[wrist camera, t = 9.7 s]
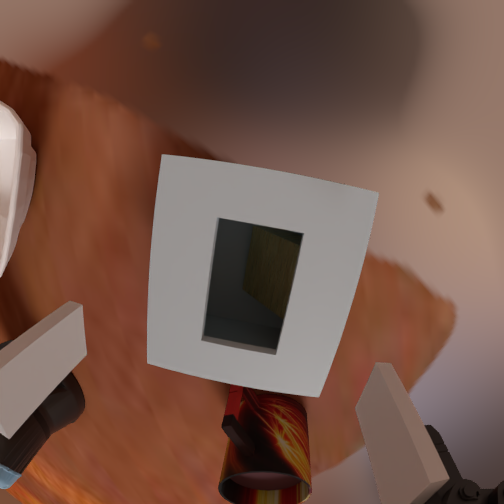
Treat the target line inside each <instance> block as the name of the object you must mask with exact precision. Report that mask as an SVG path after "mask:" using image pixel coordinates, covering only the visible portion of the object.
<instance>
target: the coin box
mask: <svg viewBox="0 0 504 504" xmlns="http://www.w3.org/2000/svg"><path fill="white" fill-rule="evenodd" d="M378 196H379V193H378V192H374V191H370V190H366V189H362V188H358V187H353V186H349V185H345V184H341V183H336V182H332V181H327V180H323V179H318V178H312V177H308V176H303V175H298V174H293V173H288V172H283V171H277V170H272V169H266V168H260V167H254V166H248V165H242V164H235V163H229V162H222V161H215V160H207V159H199V158H191V157H183V156H174V155H164V154H162V158H161V165H160V172H159V179H158V186H157V194H156V203H155V212H154V221H153V231H152V243H151V255H150V270H149V289H148V317H147V363H148V364H152V365H155V366H159V367H162V368H166V369H169V370H173V371H177V372H181V373H185V374H189V375H193V376H197V377H201V378H205V379H210V380H214V381H219V382H224V383H229V384H234V385H239V386H244V387H250V388H255V389H261V390H267V391H274V392H280V393H287V394H295V395H303V396H311V397H319V396H320V393H321V391H322V388H323V386H324V383H325V380H326V378H327V375H328V373H329V370H330V367H331V364H332V362H333V359H334V356H335V353H336V350H337V348H338V345H339V342H340V339H341V336H342V333H343V330H344V327H345V324H346V320H347V317H348V314H349V311H350V308H351V304H352V301H353V298H354V294H355V291H356V287H357V284H358V280H359V277H360V273H361V269H362V265H363V262H364V258H365V254H366V250H367V246H368V242H369V238H370V233H371V229H372V224H373V220H374V215H375V210H376V206H377V201H378ZM253 226H268V227H273V228H279V229H284V230H288V231H291V232H293V233H296V234H299V235H301V236H302V238H301V243H300V248H299V253H298V257H297V262H296V267H295V271H294V276H293V280H292V285H291V289H290V294H289V298H288V302H287V307H286V311H285V315H284V319H282V318H280V317H279V316H278V315H276V314H275V313H274V312H272V311H271V310H269V309H268V308H267V307H265V306H264V305H263V304H261V303H260V302H259V301H257V300H256V299H255V298H253V297H252V296H251V295H249V294H248V293H247V292H245V291H244V290H243V289H242V287H243V282H244V276H245V270H246V264H247V258H248V252H249V247H250V241H251V235H252V229H253Z"/></svg>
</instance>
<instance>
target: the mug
mask: <svg viewBox="0 0 504 504" xmlns="http://www.w3.org/2000/svg"><path fill="white" fill-rule="evenodd" d="M242 397H243V398H244V401H243V402H241V398H242ZM222 429H223V430H224V432H225V433H226V434H227V436H228V437H229V439H228V443H227V448H226V453H225V458H224V462H223V467H222V472H221V477H220V481H219V486H218V490H219V493H220V494H221V496H222V497H223V498H224V499H226V500H227V501H229V502H230V503H233V504H301V503H303V502H305V501H306V500H307V499H308V498H309V497H310V495H311V493H312V487H311V468H310V452H309V437H308V424H307V414H306V411H305V409H304V408H303V407H302V405H301V404H299V403H298V402H297V401H295V400H293V399H291V398H289V397H286V396H283V395H277V394H262V395H256V394H255V392H254V390H253V389H252V388H250V387H244V386H239V385H234V384H231V387H230V391H229V397H228V401H227V406H226V410H225V414H224V418H223V422H222Z"/></svg>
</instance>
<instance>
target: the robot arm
mask: <svg viewBox="0 0 504 504" xmlns="http://www.w3.org/2000/svg"><path fill="white" fill-rule="evenodd" d="M86 355H87V350H86V341H85V331H84V320H83V306H82V305H81V304H78V303H75V302H72V301H69V302H67V303H66V304H64V305H63V306H61V307H60V308H58V309H57V310H55V311H54V312H53V313H51V314H50V315H48V316H47V317H45V318H44V319H43V320H41V321H40V322H38V323H37V324H36V325H34V326H33V327H31V328H30V329H29V330H27V331H26V332H24V333H23V334H22V335H20V336H19V337H18V338H16V339H15V340H14V341H13V340H10V341H7V342H4V343H1V344H0V488H1V489H7V488H9V487H11V485H12V484H13V483H14V482H15V481H16V480H17V479H18V478H19V477H21V476H22V475H21V474H22V473H23V471H24V470H25V468H26V467H27V466H28V464H29V463H30V462H31V460H32V459H33V458H34V456H35V455H36V454H37V452H38V451H39V450H40V448H41V447H42V446H43V445H44V443H45V442H46V441H47V439H48V438H49V437H50V436H51V434H53V433H55V432H56V431H58V430H60V429H62V428H63V427H65V426H67V425H68V424H70V423H73V422H75V421H76V420H77V419H78V418H79V416H80V415H81V414H82V413H83V411H84V408H85V400H84V396H83V393H82V391H81V388H80V386H79V384H78V383H77V381H76V379H75V378H74V376H73V375H72V374H71V371H72V369H73V368H74V367H75V366H76V365H77V364H78V363H79V362H80V361H81V360H82V359H83V358H84V357H85V356H86ZM355 410H356V414H357V417H358V420H359V424H360V427H361V430H362V434H363V437H364V441H365V444H366V448H367V451H368V455H369V459H370V462H371V466H372V470H373V473H374V477H375V481H376V485H377V488H378V493H379V497H380V501H381V504H504V481H502V482H501V483H500V484H499V485H498V486H497V487H496V488H495V489H480V487H479V486H478V485H477V484H476V483H475V482H473V481H471V480H467V479H462V477H461V475H460V473H459V471H458V469H457V467H456V465H455V463H454V461H453V459H452V457H451V455H450V453H449V452H448V449H447V447H446V445H445V444H444V441H443V439H442V437H441V436H440V434H439V432H437V430H435V429H434V428H433V427H432V426H431V425H424V424H423V422H422V420H421V418H420V416H419V414H418V412H417V411H416V409H415V407H414V405H413V403H412V401H411V399H410V397H409V395H408V394H407V392H406V390H405V388H404V386H403V384H402V382H401V381H400V379H399V377H398V375H397V373H396V372H395V370H394V368H393V366H392V365H391V363H379V362H376V363H375V365H374V368H373V370H372V372H371V375H370V377H369V379H368V382H367V384H366V386H365V388H364V390H363V392H362V395H361V397H360V399H359V401H358V403H357V405H356V407H355Z"/></svg>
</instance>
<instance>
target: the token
mask: <svg viewBox="0 0 504 504" xmlns="http://www.w3.org/2000/svg"><path fill="white" fill-rule="evenodd" d="M301 238H302V236H301V235H299V234H296V233H293V232H291V231H288V230H284V229H279V228H273V227H268V226H253V229H252V235H251V241H250V247H249V252H248V258H247V264H246V270H245V276H244V282H243V287H242V289H243V290H244V291H245V292H247V293H248V294H249V295H251V296H252V297H253V298H255V299H256V300H257V301H259V302H260V303H261V304H263V305H264V306H265V307H267V308H268V309H269V310H271V311H272V312H274V313H275V314H276V315H278V316H279V317H280V318H282V319H284V315H285V311H286V307H287V302H288V298H289V294H290V289H291V285H292V280H293V276H294V271H295V267H296V262H297V257H298V253H299V248H300V243H301Z"/></svg>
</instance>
